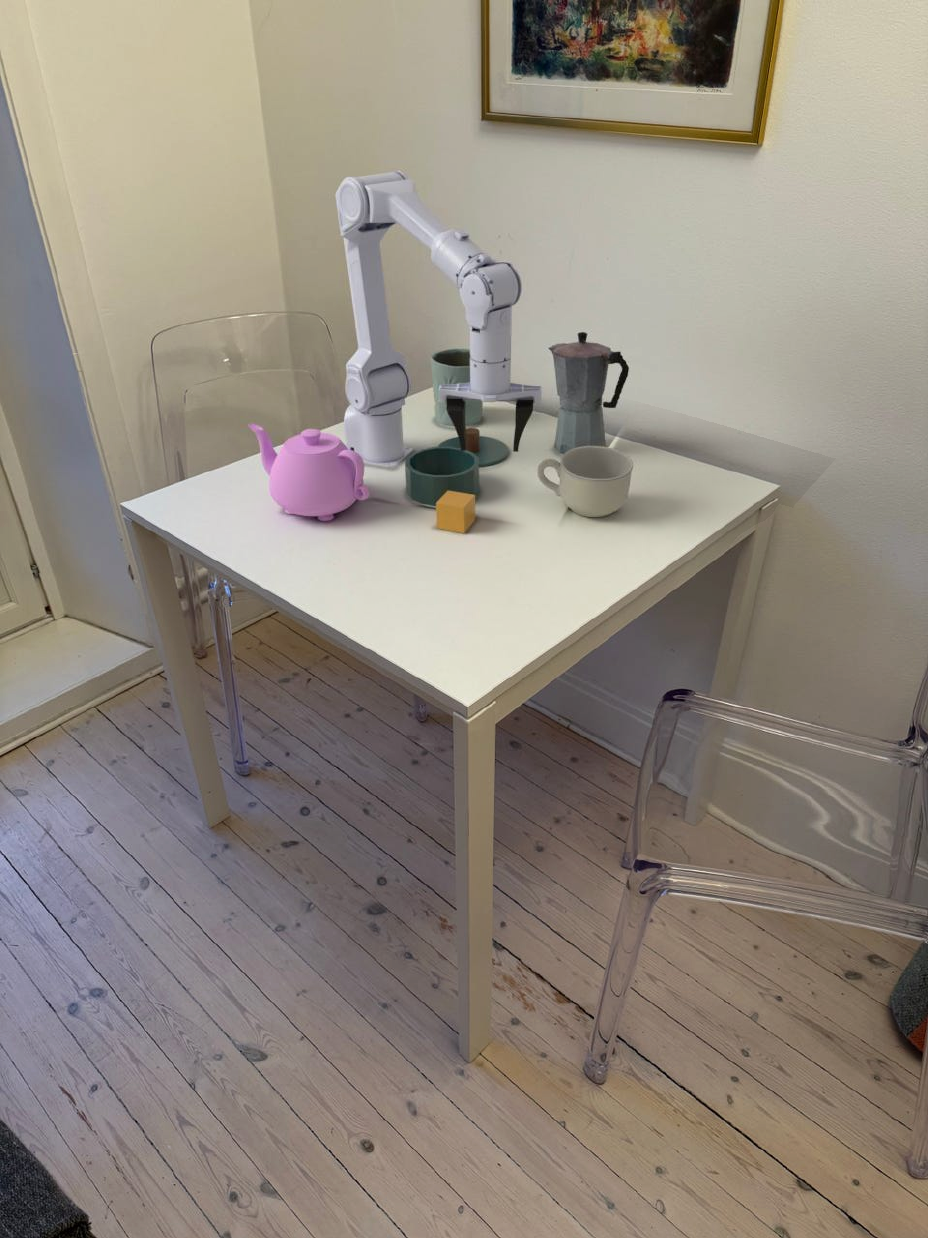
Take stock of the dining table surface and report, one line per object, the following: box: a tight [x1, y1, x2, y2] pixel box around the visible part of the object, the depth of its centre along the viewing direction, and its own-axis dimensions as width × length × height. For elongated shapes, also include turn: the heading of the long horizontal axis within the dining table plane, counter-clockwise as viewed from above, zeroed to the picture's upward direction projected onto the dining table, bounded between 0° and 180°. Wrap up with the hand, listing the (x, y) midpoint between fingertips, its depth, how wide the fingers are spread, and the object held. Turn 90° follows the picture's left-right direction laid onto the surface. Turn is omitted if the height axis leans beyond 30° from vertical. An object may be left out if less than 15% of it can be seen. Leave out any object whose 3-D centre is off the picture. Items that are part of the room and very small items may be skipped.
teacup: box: [537, 446, 634, 518], centre depth 133 cm, size 14×11×8 cm
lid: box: [436, 427, 509, 468], centre depth 151 cm, size 12×12×4 cm
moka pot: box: [548, 331, 630, 455], centre depth 148 cm, size 10×15×20 cm, turn 54°
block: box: [435, 490, 476, 534], centre depth 130 cm, size 4×4×4 cm
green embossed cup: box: [430, 348, 484, 427], centre depth 162 cm, size 10×10×12 cm
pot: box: [404, 446, 480, 510], centre depth 139 cm, size 11×11×5 cm
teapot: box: [247, 422, 371, 522], centre depth 134 cm, size 20×14×12 cm
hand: (489, 448), depth 130 cm, fingers open, 7 cm apart
